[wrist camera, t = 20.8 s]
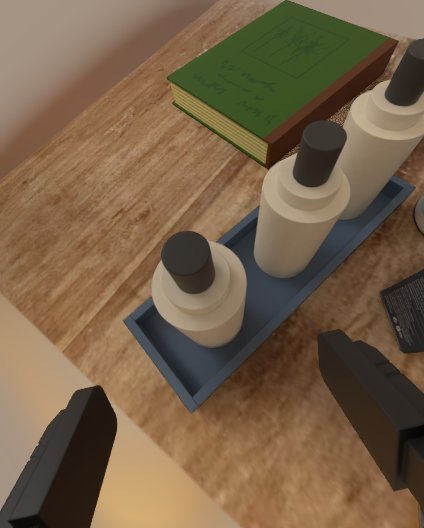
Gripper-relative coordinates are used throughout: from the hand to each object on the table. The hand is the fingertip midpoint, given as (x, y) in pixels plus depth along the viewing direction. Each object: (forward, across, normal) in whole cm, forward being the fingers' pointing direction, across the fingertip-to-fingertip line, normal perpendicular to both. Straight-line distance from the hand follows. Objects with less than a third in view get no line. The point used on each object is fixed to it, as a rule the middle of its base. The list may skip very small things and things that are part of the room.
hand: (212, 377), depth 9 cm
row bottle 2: (+20, -16, -1) cm, 26 cm away
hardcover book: (+36, -16, -15) cm, 42 cm away
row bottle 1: (+17, -8, +3) cm, 19 cm away
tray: (+17, -7, +3) cm, 19 cm away
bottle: (+13, 0, +6) cm, 15 cm away
